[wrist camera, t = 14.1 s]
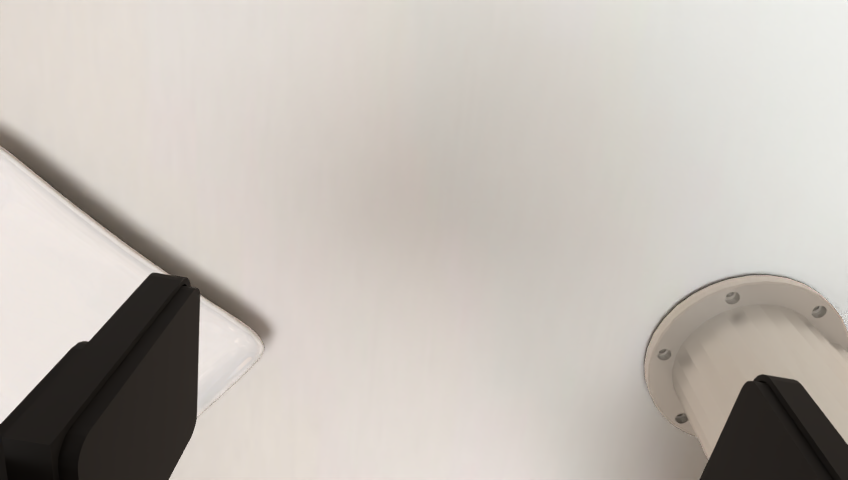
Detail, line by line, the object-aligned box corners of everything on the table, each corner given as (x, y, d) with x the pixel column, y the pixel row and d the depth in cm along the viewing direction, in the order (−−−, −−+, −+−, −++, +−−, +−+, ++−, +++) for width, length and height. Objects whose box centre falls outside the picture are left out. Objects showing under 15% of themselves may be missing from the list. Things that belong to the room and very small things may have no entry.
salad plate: (-6, 106, 39) (-45, 122, 36) (283, 321, 44) (270, 350, 41) (-147, 328, 46) (-190, 357, 43) (118, 488, 52) (96, 524, 48)
